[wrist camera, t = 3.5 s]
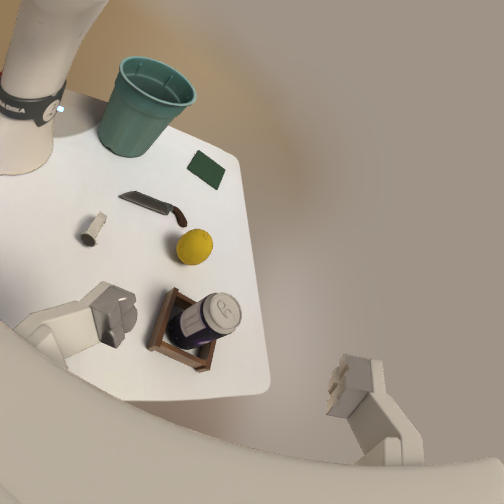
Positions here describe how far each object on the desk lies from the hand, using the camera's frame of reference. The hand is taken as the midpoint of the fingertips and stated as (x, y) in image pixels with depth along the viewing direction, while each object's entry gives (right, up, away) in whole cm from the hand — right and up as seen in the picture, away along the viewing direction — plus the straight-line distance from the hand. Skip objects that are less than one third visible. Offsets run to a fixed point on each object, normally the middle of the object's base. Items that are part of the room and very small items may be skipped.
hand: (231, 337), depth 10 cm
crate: (-10, -9, +33) cm, 36 cm away
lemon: (-12, +2, +40) cm, 42 cm away
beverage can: (-10, -10, +33) cm, 36 cm away
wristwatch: (-24, +5, +29) cm, 38 cm away
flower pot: (-26, +27, +43) cm, 57 cm away
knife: (-17, +11, +40) cm, 45 cm away
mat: (-10, +23, +56) cm, 61 cm away
